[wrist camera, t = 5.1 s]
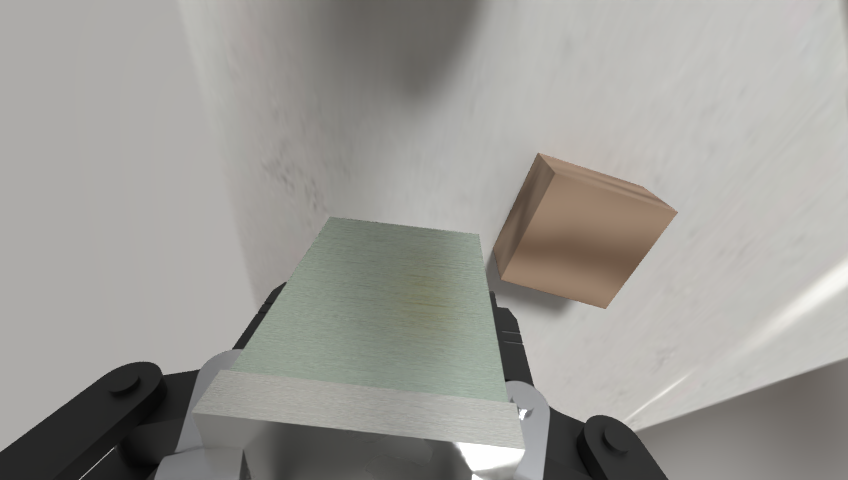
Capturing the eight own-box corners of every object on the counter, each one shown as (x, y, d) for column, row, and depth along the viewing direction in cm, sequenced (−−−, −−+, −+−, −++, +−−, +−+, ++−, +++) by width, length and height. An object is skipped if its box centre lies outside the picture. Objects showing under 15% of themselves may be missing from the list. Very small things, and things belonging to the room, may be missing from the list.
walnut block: (537, 151, 27) (555, 173, 22) (641, 185, 28) (677, 212, 23) (492, 246, 31) (500, 279, 27) (583, 272, 32) (605, 309, 28)
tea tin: (327, 213, 11) (191, 412, 5) (482, 232, 12) (525, 449, 5) (331, 328, 14) (244, 550, 8) (457, 342, 14) (468, 575, 8)
